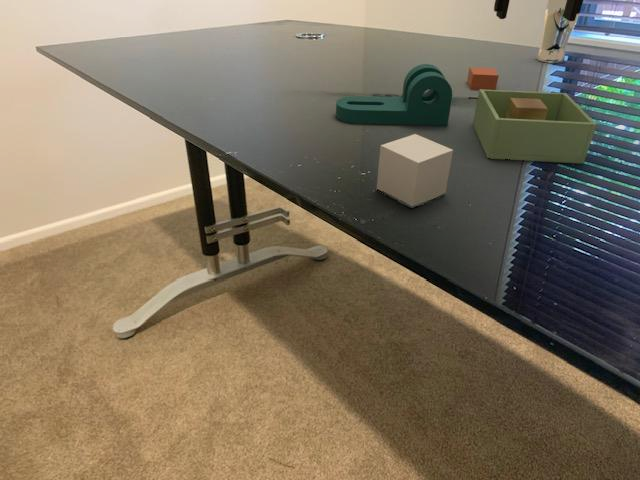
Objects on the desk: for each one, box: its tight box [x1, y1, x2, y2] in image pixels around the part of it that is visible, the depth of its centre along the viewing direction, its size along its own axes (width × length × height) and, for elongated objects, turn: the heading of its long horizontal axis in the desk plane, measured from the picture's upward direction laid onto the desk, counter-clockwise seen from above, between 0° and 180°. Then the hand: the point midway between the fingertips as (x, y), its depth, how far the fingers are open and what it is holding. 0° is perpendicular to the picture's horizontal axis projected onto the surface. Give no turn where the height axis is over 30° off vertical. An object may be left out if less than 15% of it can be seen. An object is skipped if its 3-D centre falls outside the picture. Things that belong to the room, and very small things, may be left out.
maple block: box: [505, 98, 548, 120], centre depth 76 cm, size 4×4×4 cm
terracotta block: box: [466, 67, 499, 100], centre depth 93 cm, size 4×4×4 cm
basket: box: [472, 89, 598, 165], centre depth 74 cm, size 13×13×6 cm
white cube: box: [376, 133, 454, 206], centre depth 61 cm, size 6×6×6 cm
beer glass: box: [535, 0, 580, 64], centre depth 113 cm, size 7×7×15 cm
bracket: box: [335, 63, 453, 127], centre depth 82 cm, size 18×7×8 cm, turn 89°
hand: (534, 18), depth 73 cm, fingers open, 9 cm apart
